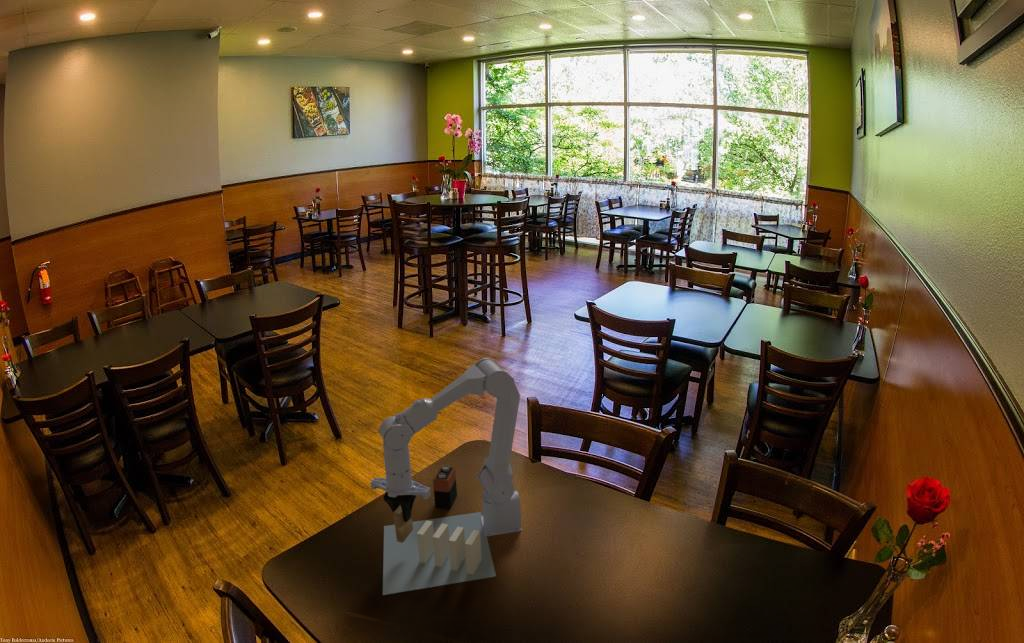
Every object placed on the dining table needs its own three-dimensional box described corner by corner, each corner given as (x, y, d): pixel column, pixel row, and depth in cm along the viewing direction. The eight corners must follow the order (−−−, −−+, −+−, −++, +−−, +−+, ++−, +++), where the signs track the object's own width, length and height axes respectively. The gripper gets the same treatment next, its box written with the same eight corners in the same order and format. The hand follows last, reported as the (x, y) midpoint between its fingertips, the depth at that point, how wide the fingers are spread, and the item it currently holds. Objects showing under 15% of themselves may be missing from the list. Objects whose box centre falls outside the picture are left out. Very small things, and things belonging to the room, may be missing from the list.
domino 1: (419, 562, 137) (416, 533, 134) (429, 548, 141) (426, 520, 139) (425, 563, 136) (423, 534, 134) (435, 549, 141) (432, 521, 138)
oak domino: (396, 541, 137) (393, 512, 134) (407, 528, 141) (404, 499, 139) (402, 542, 136) (399, 513, 134) (413, 529, 141) (410, 501, 138)
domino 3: (450, 569, 134) (448, 540, 132) (459, 554, 139) (457, 526, 136) (457, 570, 134) (455, 541, 131) (465, 556, 138) (463, 527, 136)
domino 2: (435, 565, 135) (432, 536, 133) (444, 551, 140) (442, 523, 137) (441, 567, 135) (438, 538, 132) (450, 552, 139) (448, 524, 137)
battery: (457, 495, 162) (455, 464, 159) (450, 510, 156) (447, 478, 153) (442, 494, 163) (440, 462, 160) (434, 509, 157) (431, 476, 153)
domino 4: (466, 573, 133) (464, 543, 130) (475, 558, 137) (473, 529, 135) (473, 574, 132) (471, 545, 130) (481, 559, 137) (480, 530, 134)
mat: (481, 513, 154) (480, 511, 154) (496, 577, 132) (496, 576, 132) (384, 527, 150) (384, 526, 150) (382, 596, 127) (382, 595, 127)
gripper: (360, 472, 132) (367, 523, 136) (418, 482, 127) (423, 535, 132) (377, 456, 138) (383, 505, 143) (432, 465, 134) (437, 516, 138)
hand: (403, 518), depth 137 cm, fingers closed on oak domino, 1 cm apart
